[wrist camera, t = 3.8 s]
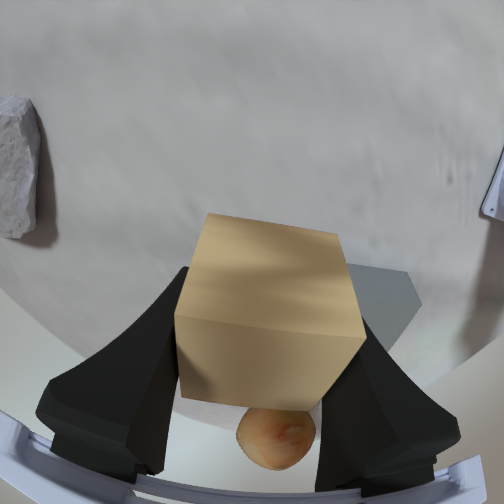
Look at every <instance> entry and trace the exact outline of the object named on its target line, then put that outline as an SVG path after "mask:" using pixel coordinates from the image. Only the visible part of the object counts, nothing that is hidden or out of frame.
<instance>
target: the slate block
mask: <svg viewBox="0 0 504 504" xmlns="http://www.w3.org/2000/svg"><path fill="white" fill-rule="evenodd" d="M346 264H347V267H348V271H349V274H350V277H351V281H352V284H353V288H354V291H355V295H356V298H357V302H358V306H359V310H360V313H361V315H362V317H363V319H364V320H365V322H366V323H367V325H368V326H369V328H370V329H371V331H372V332H373V334H374V335H375V336H376V338H377V339H378V341H379V342H380V343H381V345H382V346H383V347H384V349H385V350H386V351H387V352H388V351H389V350H390V349H391V347H392V346H393V345H394V343H395V342H396V341H397V339H398V338H399V337H400V335H401V334H402V333H403V331H404V330H405V329H406V327H407V326H408V324H409V323H410V321H411V320H412V319H413V317H414V316H415V314H416V313H417V311H418V310H419V308H420V307H421V305H422V303H421V301H420V298H419V296H418V294H417V292H416V290H415V288H414V285H413V283H412V281H411V279H410V277H409V275H408V273H407V272H403V271H396V270H389V269H382V268H375V267H369V266H362V265H355V264H348V263H346Z"/></svg>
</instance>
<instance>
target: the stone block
mask: <svg viewBox="0 0 504 504" xmlns="http://www.w3.org/2000/svg"><path fill="white" fill-rule="evenodd" d="M40 144H41V134H40V132H39V128H38V124H37V119H36V116H35V112H34V108H33V105H32V102H31V100H30V99H28V98H26V97H25V98H23V97H19V96H16V95H15V96H14V95H11V96H9V97H6V98H4V99H0V237H3V238H14V239H15V238H22V237H23V236H24V235H26V234H27V233H28V232H30V231H32V230H34V229H35V227H36V210H35V205H36V184H37V178H38V165H39V151H40Z"/></svg>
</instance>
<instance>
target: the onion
mask: <svg viewBox="0 0 504 504" xmlns="http://www.w3.org/2000/svg"><path fill="white" fill-rule="evenodd" d="M315 433H316V427H315V424H314V422H313V419H312V418H311V416H310V415H309V413H308V412H307V411H289V410H273V409H261V408H250V409H249V410H248V411H247V412H246V413H245V414H244V416H243V417H242V419H241V421H240V423H239V426H238V429H237V432H236V438H237V441H238V443H239V446H240V447H241V449H242V450H243V451H244V453H245V454H246V455H247V456H248V458H249V459H250V460H252V461H253V462H254V463H256V464H258V465H260V466H261V467H263V468H266V469H270V470H284V469H287V468H289V467H291V466H293V465H295V464H296V463H297V462H299V461H300V460H301V459H302V458H303V457H304V456H305V455H306V454H307V452H308V451H309V450H310V448H311V446H312V443H313V441H314V438H315Z"/></svg>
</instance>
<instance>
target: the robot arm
mask: <svg viewBox="0 0 504 504" xmlns="http://www.w3.org/2000/svg"><path fill="white" fill-rule="evenodd" d="M490 209H491V210H490ZM481 210H482V212H483V213H484V214H485V215H488V216H490V217H493V218H495V219H498V220H500V221H503V222H504V151H503V154H502V157H501V160H500V163H499V166H498V168H497V171H496V174H495V176H494V179H493V181H492V184H491V186H490V189H489V191H488V194H487V196H486V198H485V200H484V203H483V205H482V208H481ZM188 270H189V267H186V266H184V267H182V268H181V270H180V271H179V272H178V274H177V275H176V276H175V278H174V279H173V280H172V282H171V283H170V284H169V285H168V287H167V288H166V289H165V290H164V291H163V293H162V294H161V295H160V296H159V297H158V298H157V299H156V301H155V302H154V303H153V304H152V305H151V306H150V307H149V308H148V309H147V310H146V311H145V312H144V313H143V314H142V315H141V316H140V317H139V318H138V319H137V320H136V321H135V322H134V323H133V324H132V325H131V326H130V327H129V328H128V329H126V330H125V331H124V332H123V333H122V334H121V335H119V336H118V337H117V338H116V339H114V340H113V341H112V342H111V343H109V344H108V345H107V346H106V347H104V348H103V349H101V350H100V351H99V352H97V353H96V354H94V355H93V356H91V357H90V358H88V359H87V360H85V361H84V362H82V363H80V364H79V365H77V366H76V367H74V368H72V369H70V370H69V371H67V372H65V373H63V374H61V375H59V376H57V377H55V378H53V379H51V380H50V381H49V383H48V385H47V387H46V388H45V390H44V392H43V394H42V397H41V399H40V401H39V404H38V407H37V409H36V412H35V413H36V416H37V418H38V419H39V420H40V421H41V422H42V423H43V424H45V425H46V426H47V427H48V428H49V429H51V430H52V431H53V432H54V433H55V435H54V439H53V441H50V440H48V439H46V438H44V437H42V436H40V435H38V434H36V433H34V432H32V431H30V429H29V428H28V427H26V426H25V425H23V424H22V423H21V422H19V421H18V420H16V419H14V418H13V417H11V416H9V415H8V414H6V413H4V412H3V411H1V410H0V477H1V478H2V479H4V480H5V481H6V482H8V483H9V484H11V485H12V486H13V487H15V488H16V489H18V490H19V491H21V492H22V493H24V494H25V495H27V496H28V497H29V498H31V499H32V500H34V501H36V502H37V503H39V504H164V503H160V502H156V501H152V500H148V499H144V498H141V497H137V496H136V495H135V493H134V491H133V490H135V491H139V492H143V493H146V494H150V495H154V496H159V497H163V498H167V499H172V500H177V501H182V502H188V503H194V504H481V503H483V502H484V501H486V500H487V496H486V489H485V481H484V475H483V469H482V464H481V459H480V455H479V454H477V455H475V456H472V457H470V458H467V459H464V460H462V461H460V462H457V463H455V464H453V465H451V466H449V467H448V468H445V469H442V470H439V471H435V472H434V470H433V464H435V463H436V462H437V459H436V455H437V454H439V453H441V452H442V451H444V450H446V449H448V448H450V447H451V446H453V445H455V444H456V443H457V442H458V441H459V440H460V438H461V435H460V431H459V426H458V423H457V419H456V417H454V416H453V415H452V414H450V413H449V412H448V411H446V410H445V409H444V408H442V407H441V406H439V405H438V404H437V403H436V402H434V401H433V400H432V399H431V398H430V397H428V396H427V395H426V394H425V393H424V392H423V391H422V390H421V389H420V388H419V387H418V386H417V385H416V384H415V383H414V382H413V381H412V380H411V379H410V378H409V377H408V376H407V375H406V374H405V373H404V372H403V371H402V370H401V368H400V367H399V366H398V365H397V364H396V363H395V361H394V360H393V359H392V358H391V357H390V355H389V354H388V353H387V351H386V350H385V349H384V347H383V346H382V345H381V343H380V342H379V341H378V339H377V338H376V336H375V335H374V334H373V332H372V331H371V329H370V328H369V326H368V325H367V323H366V322H365V320H364V319H363V317H362V315H361V317H362V321H363V325H364V329H365V333H366V337H367V338H366V340H365V341H364V342H363V344H362V345H361V347H360V348H359V350H358V351H357V352H356V354H355V355H354V357H353V358H352V359H351V361H350V362H349V364H348V365H347V366H346V368H345V369H344V370H343V372H342V373H341V374H340V376H339V377H338V378H337V379H336V381H335V382H334V383H333V385H332V386H331V387H330V388H329V390H328V391H327V392H326V393H325V395H324V396H323V397H322V427H321V444H320V454H319V464H318V470H317V477H316V482H315V492H313V493H256V492H240V491H229V490H219V489H212V488H205V487H198V486H192V485H186V484H181V483H176V482H171V481H166V480H162V479H158V478H153V477H149V476H146V475H147V474H149V475H153V476H155V475H156V474H159V473H160V472H162V471H163V470H164V462H165V454H166V446H167V439H168V431H169V424H170V418H171V413H172V407H173V401H174V396H175V391H176V385H177V381H178V377H179V369H178V358H177V346H176V333H175V318H174V313H175V310H176V307H177V304H178V300H179V297H180V294H181V291H182V288H183V285H184V282H185V279H186V276H187V273H188ZM131 489H132V490H131Z"/></svg>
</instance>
